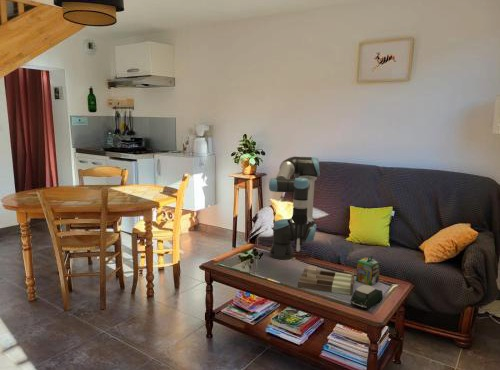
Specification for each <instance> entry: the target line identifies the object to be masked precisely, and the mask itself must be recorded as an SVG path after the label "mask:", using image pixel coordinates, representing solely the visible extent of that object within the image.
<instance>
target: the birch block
mask: <svg viewBox="0 0 500 370" xmlns="http://www.w3.org/2000/svg"><path fill="white" fill-rule="evenodd" d="M306 269H307V277H311V278H316V276H317V270H318V267H317V266H311V265H308V267H307V268H306Z"/></svg>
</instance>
